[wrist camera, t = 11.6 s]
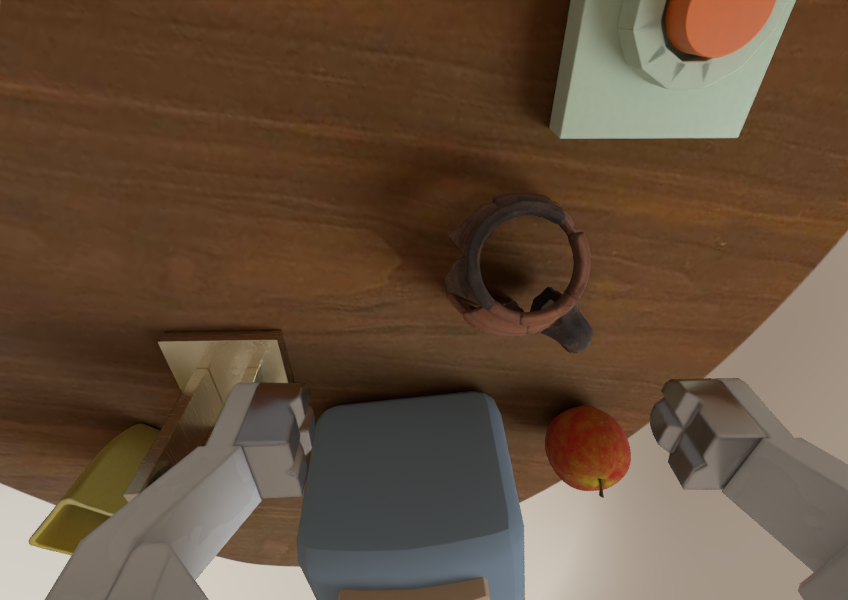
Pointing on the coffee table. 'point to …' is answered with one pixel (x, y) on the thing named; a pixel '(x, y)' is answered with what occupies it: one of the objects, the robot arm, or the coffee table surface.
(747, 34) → the button
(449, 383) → the coffee table surface
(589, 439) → the fruit
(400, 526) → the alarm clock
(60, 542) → the flower pot
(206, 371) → the bracket
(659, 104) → the button block
